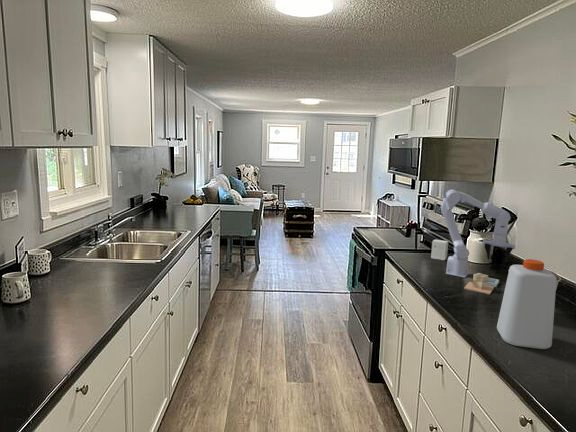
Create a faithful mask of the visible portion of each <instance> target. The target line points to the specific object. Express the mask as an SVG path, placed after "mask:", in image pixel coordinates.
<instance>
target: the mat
mask: <svg viewBox="0 0 576 432" xmlns="http://www.w3.org/2000/svg"><path fill="white" fill-rule="evenodd" d="M472 283H473V281H468V282H467V284H466V285H465V286H464V287H463V289H464V290H468V291H471V292H476V293H482V294H486V295H491V294H492V292H493V290H494V289H495V287H494V286H489V285H487V288H485V289H478V288H475V287H472Z"/></svg>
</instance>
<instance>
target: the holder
mask: <svg viewBox="0 0 576 432" xmlns="http://www.w3.org/2000/svg"><path fill="white" fill-rule="evenodd" d="M498 284H500V279H497V278H493V277H488V281H487V286H492V287H494V288H497V286H499V285H498Z"/></svg>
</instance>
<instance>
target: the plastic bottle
mask: <svg viewBox="0 0 576 432" xmlns="http://www.w3.org/2000/svg"><path fill="white" fill-rule="evenodd" d="M508 270H509V271H508V274H507V278H506V283H505V287H504V293H503V297H502V302H501V306H500V310H499V314H498V319H497V325H496V330H497V331H498V333H499V335H500V336H501V339H502V340H503V341H504V342H505V343H507V344H510V345H512V346H516V347H522V348H523V347H524V348H530V349H538V350H547V349H549V348H551V347H552V345H553V334H554V320H555V319H554V317H555V306H556V304H555V303H556V294H557V293H556V291H557V289H556V276H555V275H554V274H553V273H551V272H550V271H551V270H550V271H549V269H547V268H546V267H545V263H544V262H543V261H541V260H537V259H533V258H532V259H531V258H526V259H524V260H523V261H522V264H512V265H510V266H509V269H508Z"/></svg>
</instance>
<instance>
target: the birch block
mask: <svg viewBox="0 0 576 432" xmlns="http://www.w3.org/2000/svg"><path fill="white" fill-rule="evenodd" d="M488 278H489V275H488V274H484V273H481V272H477V273H473V277H472V282H473V283H472V287H475V288H478V289H485V288H487V286H488V285H487V282H489V281H488Z"/></svg>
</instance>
